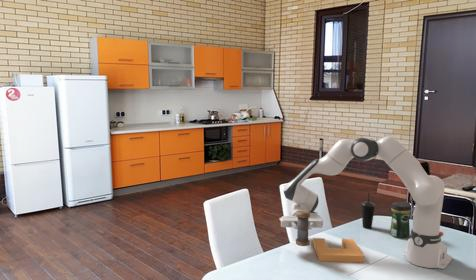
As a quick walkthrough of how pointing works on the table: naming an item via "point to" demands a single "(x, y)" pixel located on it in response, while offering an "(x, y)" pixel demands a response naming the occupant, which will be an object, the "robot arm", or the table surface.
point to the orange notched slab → (338, 251)
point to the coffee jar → (400, 219)
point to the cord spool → (302, 228)
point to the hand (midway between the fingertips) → (303, 227)
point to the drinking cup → (367, 213)
